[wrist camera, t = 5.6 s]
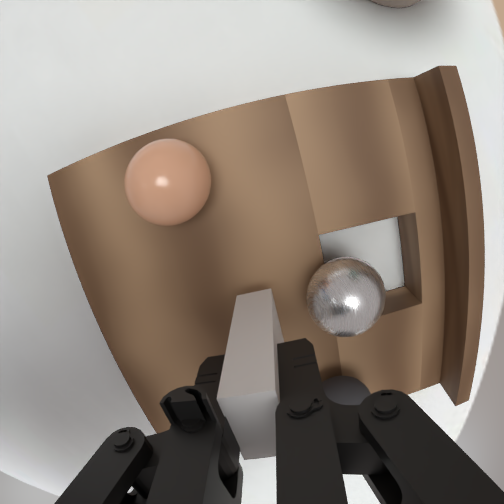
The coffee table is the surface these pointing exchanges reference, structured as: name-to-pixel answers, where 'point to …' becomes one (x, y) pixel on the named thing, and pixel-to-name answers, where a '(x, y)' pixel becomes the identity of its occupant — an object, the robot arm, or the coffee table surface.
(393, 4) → the coffee cup
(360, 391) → the black ball
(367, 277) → the steel ball
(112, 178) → the wooden board
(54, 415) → the coffee table surface
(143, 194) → the clay ball
